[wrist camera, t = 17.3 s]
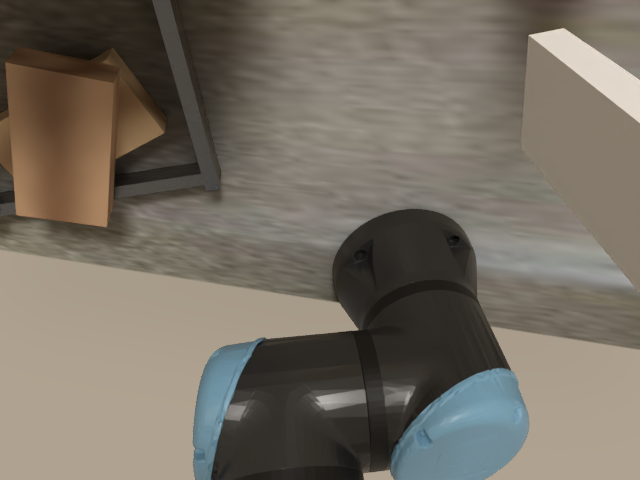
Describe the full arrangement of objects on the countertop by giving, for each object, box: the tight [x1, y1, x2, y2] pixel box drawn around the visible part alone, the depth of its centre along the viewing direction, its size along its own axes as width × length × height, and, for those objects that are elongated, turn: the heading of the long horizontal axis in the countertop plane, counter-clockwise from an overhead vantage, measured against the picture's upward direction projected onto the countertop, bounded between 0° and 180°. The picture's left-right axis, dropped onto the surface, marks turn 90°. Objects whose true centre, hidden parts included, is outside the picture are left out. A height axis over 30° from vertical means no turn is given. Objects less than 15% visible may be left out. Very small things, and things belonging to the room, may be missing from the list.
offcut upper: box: [5, 47, 121, 227], centre depth 44 cm, size 7×13×3 cm, turn 165°
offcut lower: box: [0, 48, 167, 176], centre depth 46 cm, size 7×13×3 cm, turn 116°
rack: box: [0, 0, 221, 216], centre depth 37 cm, size 23×21×18 cm
